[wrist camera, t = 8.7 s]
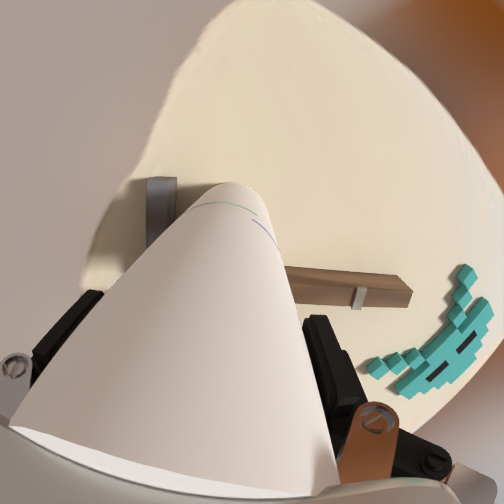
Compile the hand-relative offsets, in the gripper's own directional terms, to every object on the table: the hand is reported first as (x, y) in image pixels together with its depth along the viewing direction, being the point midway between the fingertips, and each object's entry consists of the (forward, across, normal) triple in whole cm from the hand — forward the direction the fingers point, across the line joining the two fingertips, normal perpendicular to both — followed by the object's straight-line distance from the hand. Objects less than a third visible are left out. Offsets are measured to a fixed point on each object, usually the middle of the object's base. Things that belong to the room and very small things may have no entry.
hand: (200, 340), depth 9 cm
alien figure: (+19, -34, +16) cm, 42 cm away
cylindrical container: (+18, 0, 0) cm, 18 cm away
